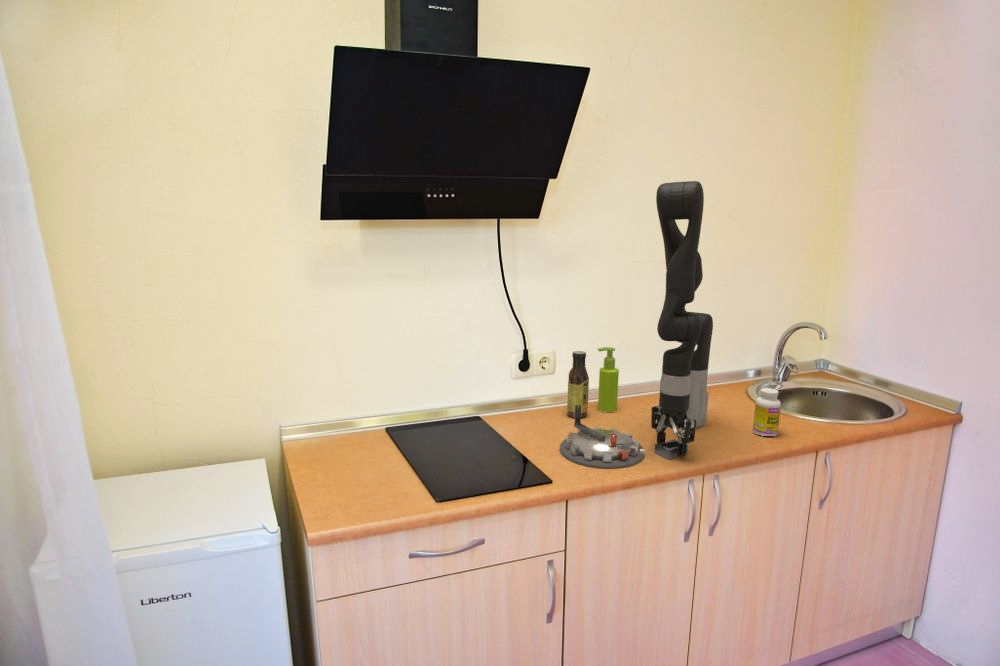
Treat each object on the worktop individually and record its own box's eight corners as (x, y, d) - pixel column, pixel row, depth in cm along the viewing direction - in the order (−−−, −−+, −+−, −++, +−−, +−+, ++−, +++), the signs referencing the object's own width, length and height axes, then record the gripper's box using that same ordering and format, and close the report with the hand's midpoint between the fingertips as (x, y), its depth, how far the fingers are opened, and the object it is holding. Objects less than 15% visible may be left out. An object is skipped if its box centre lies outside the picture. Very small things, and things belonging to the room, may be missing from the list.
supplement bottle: (765, 439, 180) (769, 395, 177) (747, 431, 186) (751, 388, 183) (783, 435, 183) (787, 392, 180) (764, 428, 188) (769, 385, 186)
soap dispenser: (592, 406, 206) (595, 345, 202) (613, 406, 207) (616, 345, 202) (597, 413, 200) (599, 350, 196) (619, 412, 201) (622, 349, 197)
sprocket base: (608, 430, 185) (608, 425, 185) (662, 458, 167) (662, 452, 166) (543, 444, 175) (544, 439, 175) (593, 475, 156) (594, 469, 156)
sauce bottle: (586, 419, 194) (589, 355, 190) (566, 418, 196) (567, 354, 191) (588, 412, 201) (590, 350, 196) (568, 411, 202) (570, 349, 198)
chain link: (674, 448, 173) (674, 439, 173) (687, 454, 169) (688, 445, 169) (654, 452, 170) (654, 444, 169) (667, 459, 166) (668, 450, 165)
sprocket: (602, 427, 185) (603, 400, 183) (653, 453, 167) (655, 423, 165) (547, 438, 176) (548, 410, 174) (595, 467, 158) (596, 436, 156)
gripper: (706, 395, 161) (701, 457, 165) (666, 381, 174) (662, 439, 177) (684, 400, 158) (680, 463, 161) (644, 384, 170) (641, 444, 174)
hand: (670, 450), depth 169 cm, fingers open, 7 cm apart
